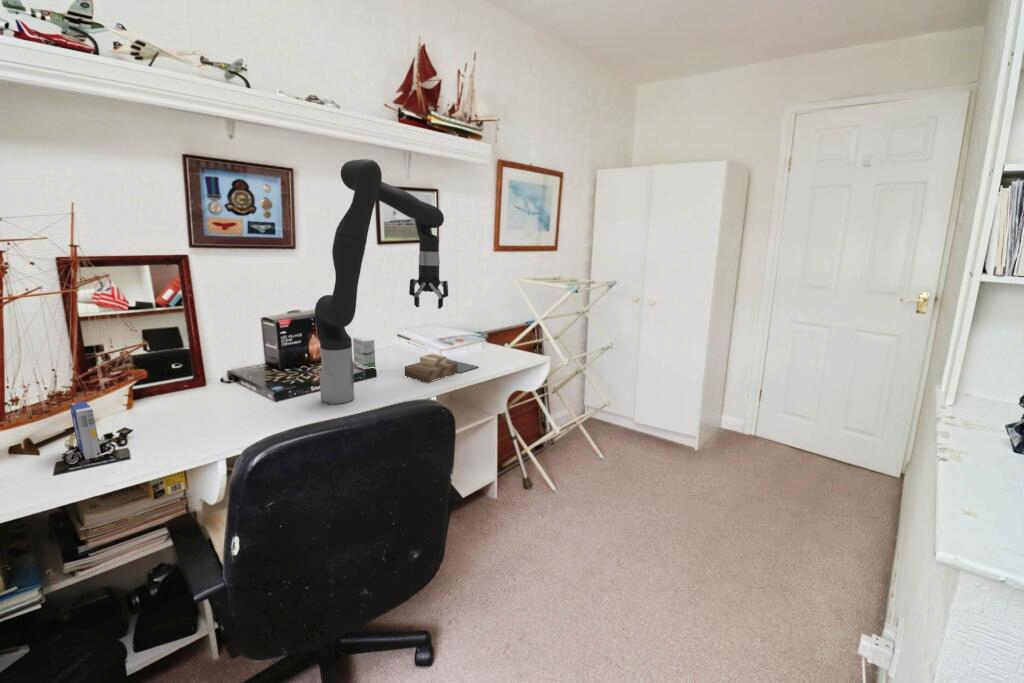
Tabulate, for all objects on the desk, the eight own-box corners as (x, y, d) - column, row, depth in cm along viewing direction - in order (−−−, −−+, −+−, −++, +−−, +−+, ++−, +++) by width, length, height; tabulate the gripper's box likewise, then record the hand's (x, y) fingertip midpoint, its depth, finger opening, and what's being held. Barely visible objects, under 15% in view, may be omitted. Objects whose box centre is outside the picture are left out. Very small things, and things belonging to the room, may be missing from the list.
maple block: (433, 368, 176) (433, 360, 175) (420, 364, 179) (420, 356, 179) (446, 364, 181) (446, 356, 180) (433, 361, 185) (433, 353, 184)
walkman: (77, 450, 113) (68, 402, 111) (93, 446, 115) (84, 399, 113) (85, 460, 109) (76, 410, 106) (101, 456, 111) (92, 407, 108)
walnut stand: (427, 383, 171) (427, 372, 170) (404, 376, 177) (404, 366, 177) (457, 373, 183) (457, 363, 182) (435, 367, 190) (435, 358, 189)
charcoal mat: (460, 373, 183) (460, 372, 183) (427, 365, 193) (427, 363, 193) (478, 367, 192) (478, 366, 192) (446, 360, 202) (446, 358, 202)
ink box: (376, 368, 187) (375, 339, 184) (364, 371, 183) (363, 341, 181) (365, 364, 192) (363, 335, 190) (353, 366, 189) (352, 337, 186)
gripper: (406, 263, 172) (406, 307, 175) (445, 265, 170) (444, 310, 173) (413, 262, 179) (413, 305, 182) (450, 264, 177) (449, 307, 181)
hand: (428, 307), depth 178 cm, fingers open, 8 cm apart
